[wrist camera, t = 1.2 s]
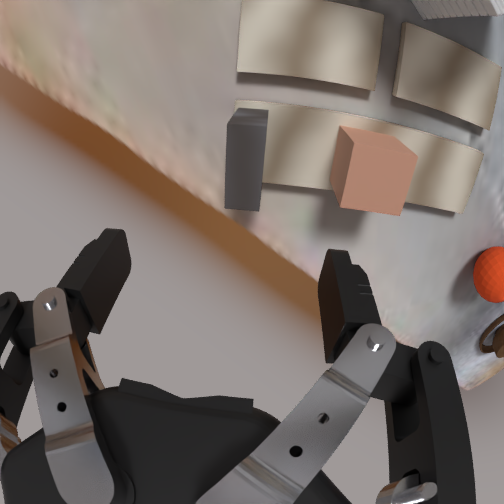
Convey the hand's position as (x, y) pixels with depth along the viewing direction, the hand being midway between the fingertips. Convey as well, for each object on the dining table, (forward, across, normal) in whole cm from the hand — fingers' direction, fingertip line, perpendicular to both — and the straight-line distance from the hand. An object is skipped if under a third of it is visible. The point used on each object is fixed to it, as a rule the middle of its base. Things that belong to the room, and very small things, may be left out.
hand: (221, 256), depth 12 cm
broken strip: (+16, -11, -9) cm, 22 cm away
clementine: (+16, -32, +10) cm, 37 cm away
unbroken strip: (+16, -11, 0) cm, 19 cm away
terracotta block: (+15, -10, 0) cm, 18 cm away
